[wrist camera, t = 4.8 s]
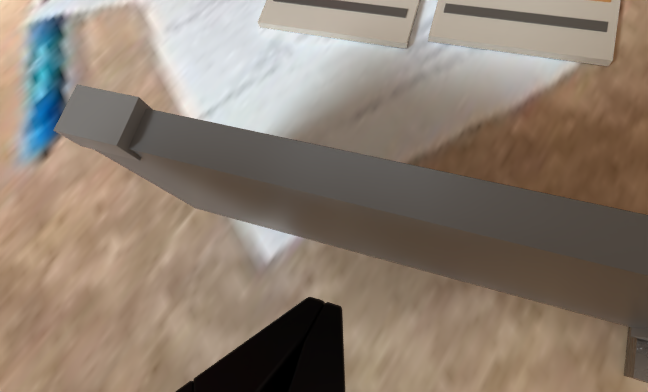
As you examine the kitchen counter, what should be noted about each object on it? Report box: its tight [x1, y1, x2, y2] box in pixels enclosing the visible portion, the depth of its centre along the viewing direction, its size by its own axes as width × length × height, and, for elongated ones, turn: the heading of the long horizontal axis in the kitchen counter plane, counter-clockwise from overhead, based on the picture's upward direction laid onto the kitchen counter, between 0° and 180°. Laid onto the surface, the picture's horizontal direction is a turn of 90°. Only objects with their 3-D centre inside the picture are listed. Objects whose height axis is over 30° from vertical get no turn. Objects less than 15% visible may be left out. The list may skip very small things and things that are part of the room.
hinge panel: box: [54, 85, 648, 341], centre depth 12 cm, size 18×2×8 cm, turn 73°
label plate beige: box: [428, 0, 621, 66], centre depth 19 cm, size 8×5×1 cm, turn 73°
